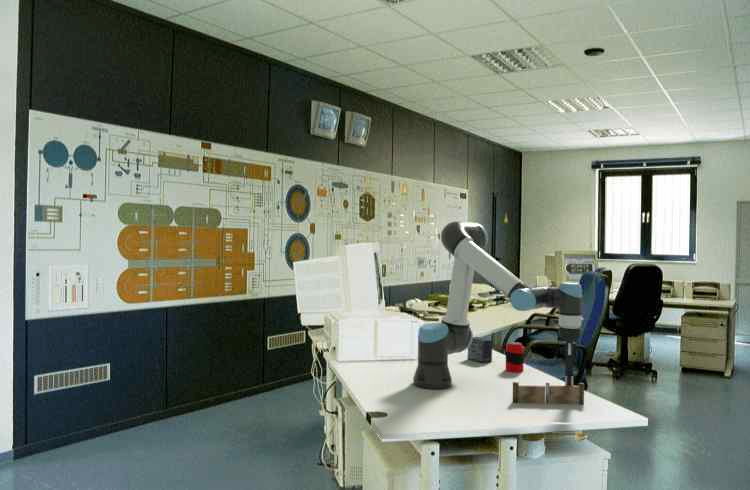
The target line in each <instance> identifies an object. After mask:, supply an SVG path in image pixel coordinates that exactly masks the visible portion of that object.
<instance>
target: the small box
mask: <svg viewBox="0 0 750 490" xmlns="http://www.w3.org/2000/svg"><path fill="white" fill-rule="evenodd" d="M467 360H469V361H473V362H477V363H481V364H487V363H492V362H493V340H492V339H488V338H485V337H478V336H473V340H472V343H471V345H470V346H469V347H468V348H467Z"/></svg>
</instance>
